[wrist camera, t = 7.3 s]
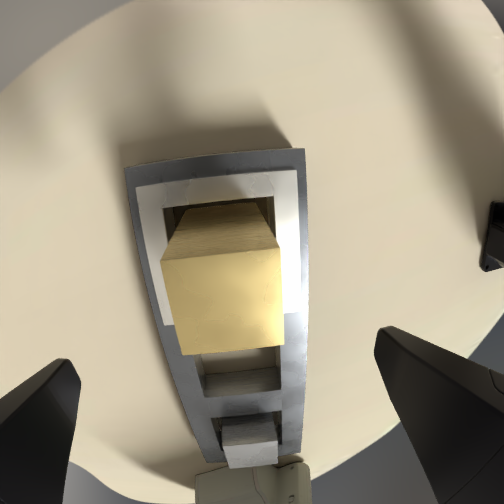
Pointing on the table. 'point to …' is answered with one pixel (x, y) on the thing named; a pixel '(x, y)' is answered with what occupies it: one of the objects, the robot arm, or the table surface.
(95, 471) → the table surface
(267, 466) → the digital clock
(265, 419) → the steel peg
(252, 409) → the rail
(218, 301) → the brass peg
